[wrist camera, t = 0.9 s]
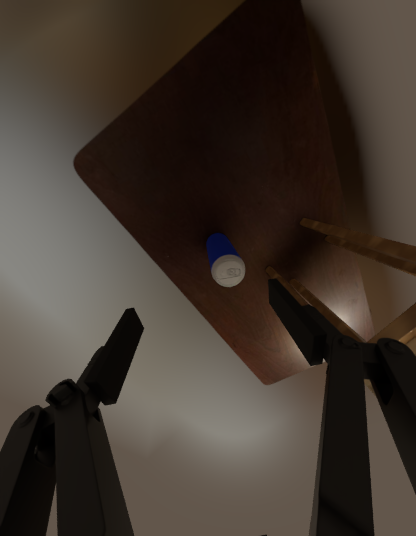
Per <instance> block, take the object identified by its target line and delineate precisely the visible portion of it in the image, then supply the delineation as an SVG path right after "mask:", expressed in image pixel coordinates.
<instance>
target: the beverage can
mask: <svg viewBox="0 0 416 536" xmlns="http://www.w3.org/2000/svg"><path fill="white" fill-rule="evenodd" d="M206 246H207V252H208V257H209V262H210V268H211V273H212V276H213V278H214V280H215V281H216V282H217V283H218V284H220V285H222V286H225V287H231V286H235V285H237V284H238V283H240V282H241V280H242V279H243V277H244V274H245V265H244V262H243V261H242V259H241V258H240V256H239V255H238V253H237V252H236V250H235V249H234V247H233V246H232V244H231V243H230V241H229V240H228V238H227V237H226V236H225V235H224V234H221V233H215V234H212V235H211V236H210V237H209V238H208V240H207V243H206Z"/></svg>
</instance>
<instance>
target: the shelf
mask: <svg viewBox="0 0 416 536" xmlns="http://www.w3.org/2000/svg"><path fill="white" fill-rule="evenodd" d="M299 224H300V225H301V226H303V227H306V228H309V229H312V230H315V231H317V232H320V233H323V234H326V235H327V236H326V237H325V239H324V240H326V241H327V242H329V243H332V244H334V245H337V246H339V247H342V248H344V249H347V250H350V251H352V252H355V253H357V254H360V255H362V256H365V257H368V258H370V259H373V260H375V261H378V262H380V263H383V264H386V265H388V266H391V267H393V268H396V269H398V270H401V271H403V272H406V273H408V274H411V275H414V276H416V246H412V245H408V244H404V243H400V242H396V241H392V240H388V239H385V238H381V237H377V236H372V235H369V234H365V233H361V232H357V231H353V230H349V229H345V228H341V227H337V226H334V225H330V224H326V223H322V222H318V221H314V220H310V219H306V218H303V219H302V220H301V222H300V223H299ZM265 271H266V272H267V273H268V274H269V276H270V277H271V278H272V279H274V278H277V279H278V281H279V282H280V283H281V284H282V285H283V286H284V287H285V288H286V289H287V290H288V291H289V293H290V294H291V295H292V296H293V297H294V298H295V299H296V300H297V301H298V302H299V303H300V305H301V306H303V305H308V303H307V302H306V301H305V300H304V299H303V298H302V297H301V296H300V295H299V294H298V293H297V292H296V291H295V290H294V289H293V288H292V287H291V286H290V285H289V284H288V283H287V282H286V281H285V280H284V279H283V278H282V277H281V276H280V275H279V274H278V273H277V272H276V271H275V270H274V269H273V268H272V267H270V266H268V267H267V268H266V270H265ZM289 283H290V284H291V285H292V286H293V287H294V288H295V289H296V290H297V291H298V292H299V293H300V294H301V295H302V296H303V297H304V298H305V299H306V300H307V301H308V302H309V303H310V304H311V305H312V306H313V307H315V308H316V309H317V310H318V311H319V312H320V313H321V314H322V315H323V316H324V317H325V318H327V319H328V320H329V321H330V322H331V323H332V324H333V325H334V326H335V327H336V328H337V329H338V330H339V331H340V332H341V333H342V334H343V335H347V336H350V337H352V338H354V339H355V340H357V341H358V342H365V343H377V341H378V339H380V338H391V339H395V340H398V341H400V342H402V343H404V344H407V343H408V342H409V341H411V340H412V339H413V338H415V337H416V303H415V304H414V305H412V306H411V307H410V308H409V309H407V310H406V311H405V312H404V313H402V314H401V315H400V316H399V317H398V318H396V319H395V320H394V321H393V322H391V323H390V324H389V325H388V326H387V327H385V328H384V329H383V330H381V331H380V332H379V333H378V334H377V335H375V336H374V337H373V338H372V339H370V340H369V341H368V342H366V341H365V340H364V339H363V338H362V337H360V336H359V335H358V334H357V333H356V332H355V331H354V330H353V329H351V328H350V327H349V326H348V325H347V324H346V323H345V322H344V321H342V320H341V319H340V318H339V317H338V316H337V315H336V314H335V313H333V312H332V311H331V310H330V309H329V308H328V307H327V306H326V305H324V304H323V303H322V302H321V301H320V300H319V299H318V298H316V297H315V296H314V295H313V294H312V293H311V292H310V291H309V290H307V289H306V288H305V287H304V286H303V285H302V284H301V283H300V282H298V281H297V280H296V279H294V278H292V279H291V280H290V282H289Z"/></svg>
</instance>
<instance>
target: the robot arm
mask: <svg viewBox="0 0 416 536" xmlns="http://www.w3.org/2000/svg"><path fill="white" fill-rule="evenodd" d="M268 286H269V303H270V305H271V306H272V308H273V309H274V311H275V312H276V314H277V315H278V317H279V318H280V320H281V322H282V323H283V325H284V326H285V328H286V329H287V331H288V332H289V334H290V335H291V337H292V338H293V340H294V341H295V343H296V345H297V346H298V348H299V349H300V351H301V352H302V354H303V355H304V357H305V358H306V360H307V361H308V363H309V364H310V366H313V365H319V364H322V362H323V358H324V359H325V361H326V362H327V363H328V366H327V371H326V374H327V375H326V385H325V394H324V404H323V413H322V422H321V432H320V442H319V451H318V461H317V470H316V480H315V489H314V498H313V508H312V516H311V522H310V530H309V536H374V524H373V509H372V495H371V494H372V493H371V478H370V463H369V448H368V433H367V417H366V401H365V386H364V379H367V380H370V382H371V384H372V387H373V389H374V392H375V394H376V397H377V399H378V402H379V404H380V407H381V409H382V412H383V414H384V417H385V419H386V422H387V424H388V427H389V429H390V432H391V434H392V437H393V439H394V441H395V444H396V447H397V449H398V452H399V454H400V457H401V459H402V462H403V464H404V467H405V469H406V472H407V474H408V477H409V479H410V482H411V484H412V486H413V489H414V491H415V494H416V356H415V354H414V353H413V351H412V350H411V349H410V348H409V347H408V346H407V345H405V344H404V343H402V342H400V341H398V340H395V339H391V338H380V339H378V341H377V343H365V342H358V341H357V340H355V339H354V338H352V337H350V336H347V335H343V334H342V333H341V332H340V331H339V330H338V329H337V328H336V327H335V326H334V325H333V324H332V323H331V322H330V321H329V320H328V319H327V318H325V317H324V316H323V315H322V314H321V313H320V312H319V311H318V310H317V309H316V308H315V307H313V306H311V305H309V304H308V305H303V306H301V305H300V303H299V302H298V301H297V300H296V299H295V298H294V297H293V296H292V295H291V294H290V293H289V291H288V290H287V289H286V288H285V287H284V286H283V285H282V284H281V283H280V282H279V281H278V279H277V278H274V279H269V280H268ZM143 330H144V327H143V325H142V323H141V321H140V319H139V317H138V315H137V313H136V311H135V309H134V308H129V309H126V310H125V312H124V314H123V315H122V317H121V319H120V320H119V322H118V324H117V325H116V327H115V329H114V330H113V332H112V334H111V336H110V337H109V339H108V341H107V342H106V344H105V346H102V347H100V348H99V349H98V350H97V351H96V353H95V354H94V355H93V357H92V358H91V361H90V362H89V363H88V366H87V367H86V368H85V370H84V372H83V373H82V375H81V376H80V378H79V380H78V381H77V383H76V384H75V382H74V381H73V380H72V379H67V380H63V381H62V382H60V383H58V384H57V385H56V386H55V387H54V388H53V389H52V390H51V391H50V392H49V394H48V395H47V397H46V402H48V403H49V404H50V406H48V407H46V408H44V409H43V408H42V407H40V406H39V405H36V406H33V407H31V408H29V409H28V410H27V411H25V412H24V413H23V414H22V415H20V416H19V417H18V419H17V420H16V421H15V422H14V424H13V425H12V427H11V429H10V431H9V433H8V436H7V438H6V440H5V442H4V445H3V447H2V449H1V451H0V536H46V532H47V526H48V521H49V516H50V511H51V506H52V500H53V496H54V490H55V485H56V491H57V528H58V536H134V533H133V529H132V525H131V522H130V518H129V514H128V511H127V507H126V503H125V500H124V496H123V492H122V489H121V485H120V481H119V478H118V474H117V470H116V467H115V463H114V459H113V456H112V452H111V448H110V444H109V441H108V437H107V433H106V430H105V426H104V423H103V419H102V415H101V411H100V409H99V408H98V406H99V404H100V401H101V402H102V403H103V404H104V405H110V404H115V403H116V402H117V399H118V397H119V394H120V391H121V388H122V386H123V383H124V381H125V378H126V375H127V373H128V370H129V367H130V365H131V362H132V359H133V356H134V354H135V351H136V349H137V346H138V343H139V341H140V338H141V335H142V333H143ZM262 536H267V535H262Z"/></svg>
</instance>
